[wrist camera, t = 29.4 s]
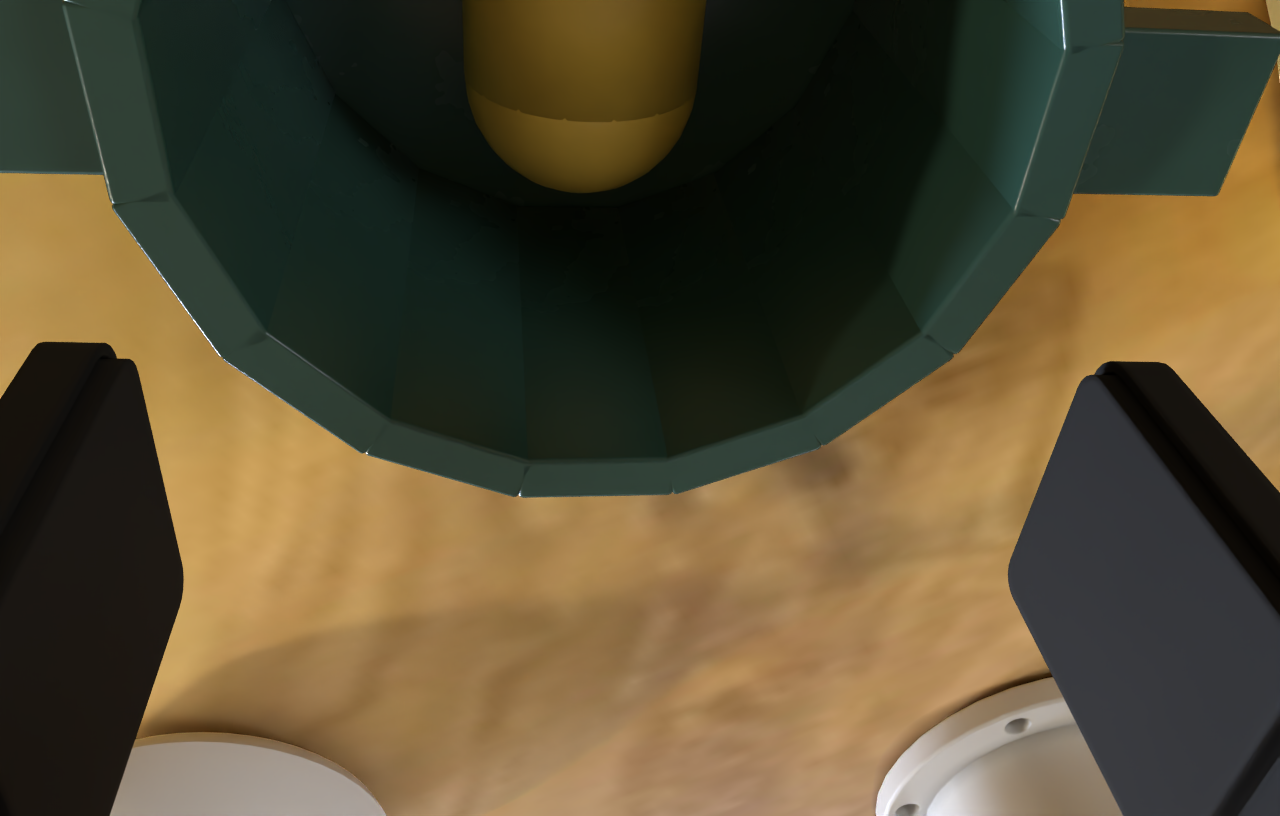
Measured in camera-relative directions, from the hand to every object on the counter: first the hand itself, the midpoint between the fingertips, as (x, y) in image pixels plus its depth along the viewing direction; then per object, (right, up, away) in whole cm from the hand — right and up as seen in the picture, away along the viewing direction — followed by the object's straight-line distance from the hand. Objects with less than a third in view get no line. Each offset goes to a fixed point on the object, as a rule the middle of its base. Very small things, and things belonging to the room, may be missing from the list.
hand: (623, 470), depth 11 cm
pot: (-1, +10, +10) cm, 14 cm away
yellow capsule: (-1, +9, +9) cm, 13 cm away
